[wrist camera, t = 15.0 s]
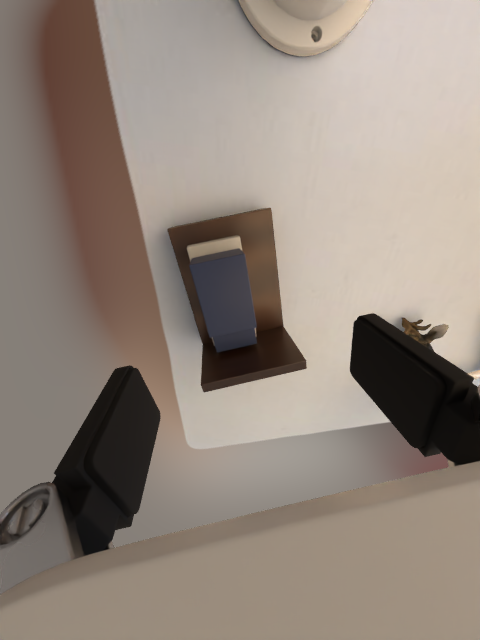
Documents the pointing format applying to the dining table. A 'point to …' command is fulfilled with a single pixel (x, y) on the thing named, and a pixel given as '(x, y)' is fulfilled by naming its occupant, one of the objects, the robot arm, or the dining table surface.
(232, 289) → the dark blue beige block
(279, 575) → the robot arm
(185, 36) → the dining table surface
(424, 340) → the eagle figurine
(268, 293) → the shelf
